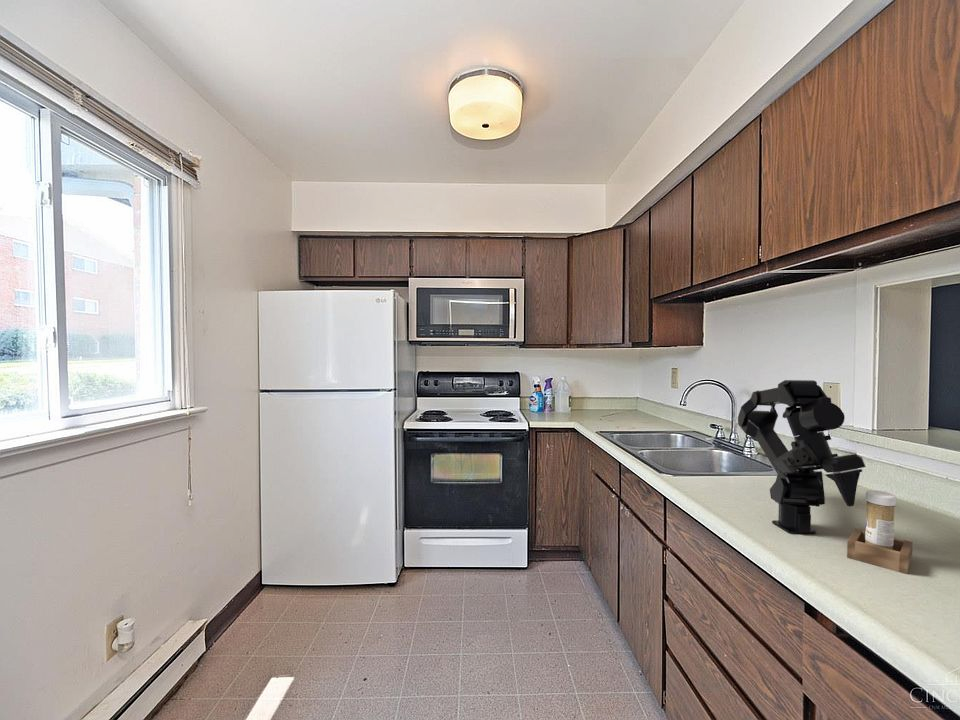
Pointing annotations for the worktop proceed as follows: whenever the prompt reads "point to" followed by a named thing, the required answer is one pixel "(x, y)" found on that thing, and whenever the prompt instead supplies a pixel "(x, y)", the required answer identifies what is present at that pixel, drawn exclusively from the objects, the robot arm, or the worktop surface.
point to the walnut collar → (880, 552)
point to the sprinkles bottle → (880, 518)
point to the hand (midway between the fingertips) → (835, 505)
